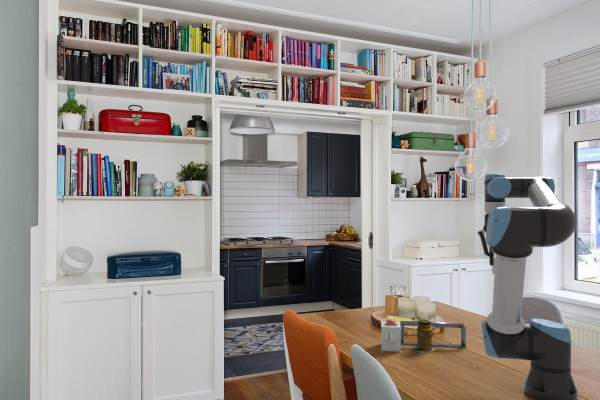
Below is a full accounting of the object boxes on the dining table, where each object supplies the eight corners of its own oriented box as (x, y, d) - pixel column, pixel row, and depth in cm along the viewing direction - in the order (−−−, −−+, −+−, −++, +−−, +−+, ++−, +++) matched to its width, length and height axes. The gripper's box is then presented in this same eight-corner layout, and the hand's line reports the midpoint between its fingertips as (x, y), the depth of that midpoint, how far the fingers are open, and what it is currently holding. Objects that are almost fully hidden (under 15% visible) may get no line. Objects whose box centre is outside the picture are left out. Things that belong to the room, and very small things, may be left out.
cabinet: (400, 352, 197) (400, 328, 197) (381, 351, 199) (381, 327, 199) (399, 344, 208) (399, 321, 208) (381, 343, 209) (381, 321, 209)
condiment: (436, 350, 200) (436, 321, 201) (422, 353, 196) (422, 324, 196) (422, 345, 207) (422, 318, 207) (409, 349, 202) (409, 320, 202)
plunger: (395, 342, 201) (395, 321, 202) (386, 342, 202) (386, 321, 202) (394, 340, 205) (394, 319, 205) (386, 340, 206) (386, 319, 206)
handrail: (465, 345, 206) (465, 322, 207) (466, 347, 204) (466, 324, 204) (399, 342, 211) (399, 319, 211) (399, 344, 208) (399, 321, 208)
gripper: (509, 213, 188) (510, 273, 188) (475, 213, 190) (475, 272, 190) (515, 213, 181) (515, 275, 181) (479, 213, 183) (479, 274, 183)
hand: (495, 273), depth 185 cm, fingers closed
